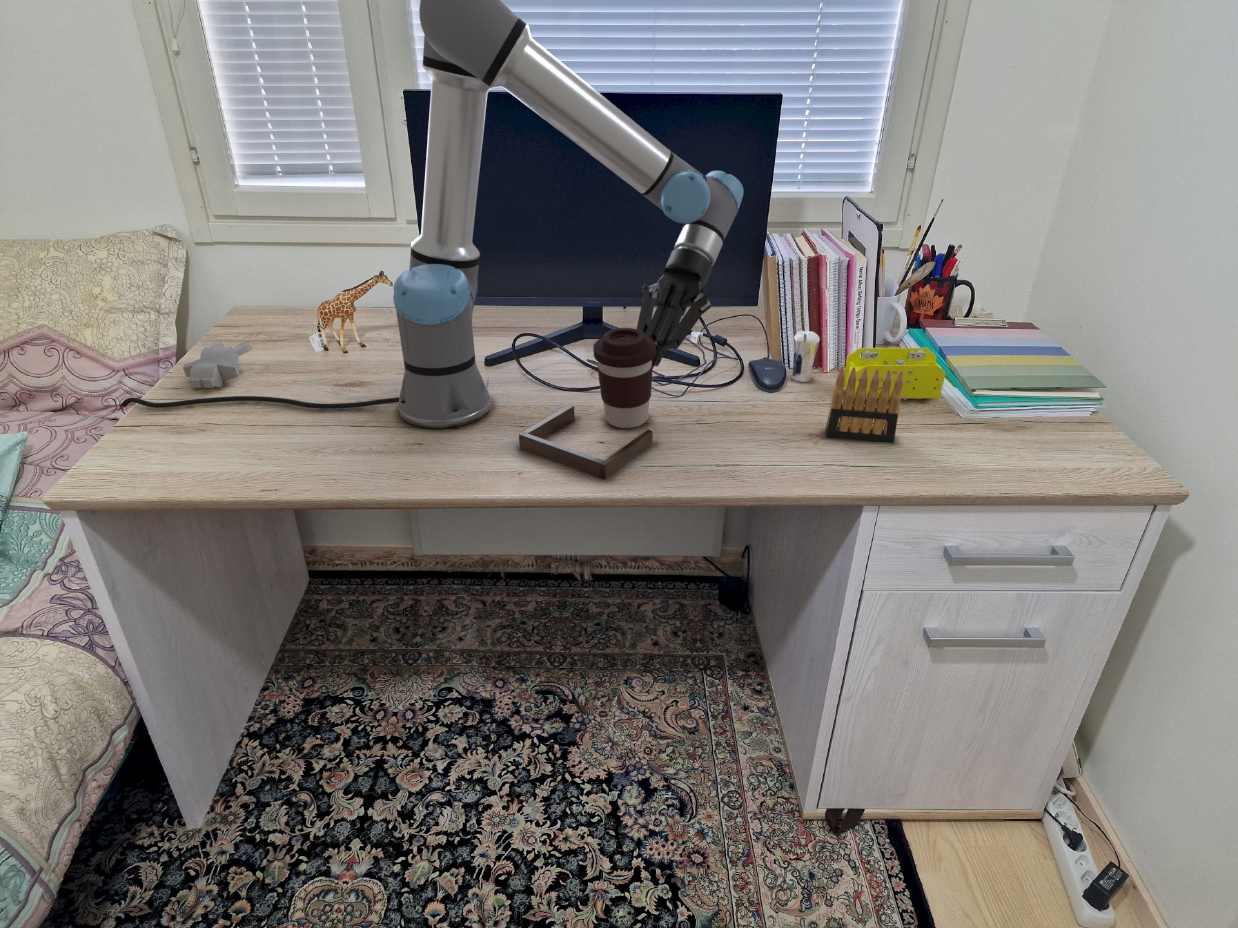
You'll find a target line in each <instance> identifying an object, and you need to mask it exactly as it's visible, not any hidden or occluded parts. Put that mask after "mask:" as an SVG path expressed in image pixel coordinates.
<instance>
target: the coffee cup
mask: <svg viewBox="0 0 1238 928" xmlns="http://www.w3.org/2000/svg"><path fill="white" fill-rule="evenodd" d="M656 345H657V343H655V342H654V341H653V340H652V339H651V338H649V337H647V336H646V335H645V334H644V333H643V332H642V331H640V330H637V328H633V327H632V328H631V327H619V328H614V329H610V330H608V331H607V332H605V333H604V334H603V336H602V337H600V338H599V339H597V340H596V341H595V342H594V344H593V347H592V349H593V358H594V360H595V361H596V362H597V363H598V364H597V375H598V382H599V390H600V397H601V400H602V402H603V403H602V405H603V411H604V418H605V420H606V422H607V423H608V424H609V425H611V426H613V427H615V428H619V429H633V428H637V427H639V426H641V425H643V424H645V423H646V422H647V420H648V419H649V415H650V414H649V413H650V399H651V396H652V384H653V370H654V367H653V364H652V359H653V358H654V357H655V354H656Z"/></svg>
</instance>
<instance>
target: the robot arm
mask: <svg viewBox="0 0 1238 928" xmlns="http://www.w3.org/2000/svg"><path fill="white" fill-rule="evenodd" d="M419 1H420V2H419V7H418V8H419V9H418V10H419V11H418V13H419V22H420V27H421V30H422V32H423V34H424V35H423V37H424V38H423V52H422V68H423V70H424V72H425V73H426V74H427V76H428V78H429V79H430V81H431V88H430V100H429V101H430V102H429V115H428V116H429V117H428V129H427V145H426V156H425V158H426V160H425V173H424V187H423V201H422V202H423V203H422V215H421V230H420V235H419V236H418V237H416V238H415V239H413V241H411V243H410V253H409V254H410V255H409V270H408V269H407V270H403V271H402V272H400V274H398V276H397V277H396V278H395V280H394V282H393V297H392V298H393V299H392V301H393V304H394V308H395V311H396V312H395V313H396V319H397V324H398V331H399V338H400V339H399V340H400V345H401V351H402V360H403V366H404V373H403V379H402V383H401V387H400V388H401V389H400V393H399V396H397V397H389V398H388V397H387V398H380V399H372V400H365V401H358V402H357V401H356V402H342V403H341V402H340V403H322V402H321V403H319V402H308V401H301V400H297V399H291V398H285V397H284V398H283V397H275V396H262V395H261V396H260V395H259V396H258V395H234V396H233V395H231V396H230V395H229V396H216V397H205V398H203V397H202V398H194V399H193V398H192V399H185V400H177V401H167V402H152V401H148V400H144V399H142V398H137V397H128V398H125V399H124V400H122V402H121V404H120V406H119V407H123V408H124V407H127V406H128V405H129V404H131V403H132V404H138V405H141V406H144V407H147V408H148V407H149V408H153V409H163V408H164V409H166V408H175V407H176V408H177V407H183V406H184V407H185V406H190V405H192V406H193V405H200V404H201V405H203V404H212V403H213V404H214V403H226V402H263V403H264V402H265V403H275V404H276V403H277V404H285V405H292V406H297V407H302V408H310V409H320V410H321V409H322V410H323V409H325V410H327V409H328V410H329V409H332V410H334V409H353V408H365V407H372V406H379V405H388V404H395V403H396V404H397V403H398V409H399V415H400V417H401V418H402V419H403V420H404V421H405V422H406V423H407V424H410V425H413V426H415V427H420V428H426V429H449V428H456V427H460V426H465V425H468V424H471V423H473V422H476V421H478V420H479V419H481V418H483V417H484V416H485V415H486V414H487V413H488V412H489V410H490V409H491V397H490V392H489V390H488V387H489V385H490V376H489V375H488V377H487V379H486V381H484V379H483V377H482V375H481V373H480V370H479V368H478V366H477V363H476V350H475V341H474V340H475V339H474V331H473V329H474V328H473V315H474V308H475V302H476V299H477V296H478V288H479V287H478V286H479V284H478V277H479V266H480V256H481V254H480V251H479V249H478V248H477V247H476V246H475V244H474V242H473V238H474V227H475V219H476V218H475V217H476V209H477V199H478V198H477V197H478V189H479V178H480V168H481V160H482V150H483V142H484V141H483V140H484V131H485V123H486V121H485V120H486V111H487V110H486V109H487V100H488V94H489V91H490V90H492V89H496V88H502V89H504V90H505V91H507V92H508V93H509V94H511V95H512V96H513V97H515V99H517V100H518V101H520V102H521V103H522V104H523V105H525V106H526V107H527V108H529V109H530V110H532V112H534V113H535V114H537V115H538V116H539V117H540V118H541V119H543V120H545V121H546V122H547V123H548V124H549V125H551V126H552V127H554V128H555V129H556V130H557V131H558V132H560V133H561V134H563V135H564V136H565V137H566V138H568V139H569V140H571V141H572V142H573V143H574V144H575V145H577V146H579V148H581V149H582V150H584V151H585V152H586V153H587V154H589V155H590V156H591V157H593V158H594V159H596V161H598V162H600V163H601V164H602V165H603V166H605V168H607V169H609V170H610V171H612V172H613V173H614V174H615V175H616V176H617V177H619V178H620V179H622V180H623V181H624V182H625V183H627V184H628V185H630V186H631V188H633V189H635V191H637V192H639V194H641V195H642V196H643V197H644V198H646V199H647V200H648V201H649V202H651V203H652V204H653V205H655V206H656V207H657V208H659V209H660V210H661V211H662V212H663V214H664V215H665V216H666V217H667V218H668V219H670V220H672V221H674V222H675V223H678V224H683V225H682V229H681V230H680V233H679V235H678V238H677V240H676V242H675V244H674V246H673V250H672V251H671V253H670V256H669V258H668V260H667V262H666V264H665V267H664V271H663V274H662V276H660V277H659V279H658V280H657V282H656V283H654V284H651V285H649V284H647V283H644V284H643V285H642V286H641V290H642V296H643V297H642V300H641V305H640V309H639V310H640V311H639V315H638V320H637V325H636V329H637V330H640V331H642V332H643V333H644V334H645V335H646V336H647V337H649V338H651V339H652V340H653V341H654V342H655V344H656V354H655V357H654V358H653V359H652V364H653V368H655V367H658V366H659V365H660V364H661V361H662V359H663V357H664V355H665V352H666V351H667V350H669V349H673V350H678V349H679V348H680V346H681V345H682V343H683V342H684V341H685V339H686V338H687V336H688V335H689V333H690V332H691V331H692V329H693V328H694V327H695V325H696V324H697V323H698V321H699V319H700V318H701V317H702V316H703V314H705V313H706V312H707V311H709V310H710V309H711V308H712V303H711V302H710V300H709V299H708V297H707V296H706V295H704V287H705V285H706V284H707V282H708V280H709V277H710V275H711V272H712V270H713V266H714V265H715V263H716V262H717V259H718V256H719V254H720V251H721V249H722V248H723V245H724V242H725V239H726V237H727V235H728V233H729V231H730V229H731V227H732V225H733V223H734V220H735V218H736V216H737V215H738V213H739V208H740V206H741V203H742V200H743V197H744V187H743V184H742V182H741V181H740V180H739V179H738V178H737V177H735V176H734V175H733V174H731V173H726V172H725V171H722V170H712V171H709V172H708V173H707V174H704V173H701V172H700V171H698V170H697V169H696V168H695V167H693V166H691V165H690V164H689V163H688V162H687V161H685V160H683V159H682V158H681V157H679V156H678V155H677V154H675V153H674V152H672V151H671V150H670V148H668V147H666V146H665V145H663V143H661V142H660V141H659V140H658V139H656V138H655V137H654V136H653V135H651V133H649V132H648V131H647V130H645V129H644V128H643V127H641V126H640V125H639V124H638V123H636V122H635V120H633V119H632V118H631V117H629V116H628V115H627V114H626V113H624V112H623V111H622V110H621V109H620V108H618V107H617V106H616V105H614V104H613V103H612V102H611V101H610V100H608V99H607V98H606V97H605V96H603V94H601V93H599V92H598V91H597V90H596V89H595V88H594V87H592V86H591V85H590V84H589V83H588V82H587V81H585V80H584V79H583V78H582V77H580V76H579V75H578V74H576V73H575V72H574V71H573V70H572V69H570V68H569V67H568V66H567V65H566V64H564V63H563V62H562V61H561V60H559V59H558V58H557V57H555V56H554V55H553V54H552V53H551V52H550V51H549V50H547V49H545V47H544V46H543V45H541V44H540V43H539V42H537V41H536V40H535V39H534V38H533V36H532V35H531V31H530V26H529V24H528V23H527V22H525V21H524V20H522V19H521V18H520V17H519V16H518V15H517V14H516V13H515V12H513V11H512V10H511V8H509V6H507V4H506V3H505V2H504V1H503V0H419ZM658 294H659V298H658V300H657V306H656V308H655V303H656V302H655V301H656V300H655V299H657V297H658ZM689 306H690V307H689ZM688 307H689V308H688ZM654 308H655V311H654ZM687 309H688V310H687Z"/></svg>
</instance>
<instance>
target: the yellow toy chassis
mask: <svg viewBox="0 0 1238 928" xmlns="http://www.w3.org/2000/svg"><path fill="white" fill-rule="evenodd" d="M937 357H938V356H937V354H935V353H934V352H933V351H932V350H931V349H930V348H929V347H858V348H857V349H855V350H854V351H852V352H851V353H849V354H848V355H847V356H846V361H845V367H844V372H845V378H844V391H845V390H846V387H847V383H848V379H849V375H850V373H851V371H852V369H853V368H855V369H856V383H855V395H856V392H857V389H858V385H859V381H860V378H861V375H862V373H863V371H864V369H865V368H866V369H867V372H868V380H867V388H866V398H867V394H868V391H869V388H870V385H871V380H872V377H873V375H874V373H875V371H876V370H877V369H878V370H879V385H878V397H879V394H880V392H881V388H882V385H883V381H884V378H885V375H886V373H887V372H888V371H889V370H890V371H891V385H890V397H891V394H892V392H893V388H894V385H895V381H896V379H897V376H898V374H899V373H900V371H902V372H903V386H902V393H901V399H903V400H904V401H906V400H908V399H911V400H912V399H913V400H923V399H940V398H941V395H942V389H943V386H944V381H945V377H946V371H945V370H944V369H943V368H942V367H941V365H940V364H938V362H936V361H937ZM878 397H877V399H878ZM890 397H889V401H890ZM854 400H855V396H854ZM865 401H866V399H865Z"/></svg>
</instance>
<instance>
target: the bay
mask: <svg viewBox="0 0 1238 928" xmlns="http://www.w3.org/2000/svg"><path fill="white" fill-rule="evenodd" d="M575 414H576V413H575V405H573V404H568V405H566V406H564V407H563V408H561V409H559V410H558V411H556V412H554V413H553V414H550V415H549V416H548V417H546V418H544V419H542V420H541V421H539V422H537V423H536V424H534V425H532V426H530V427H529V428H526V429H525V430H523V431H522V432H520V433H518V443H519V449H520V450H523V451H526V452H528V453H532V454H534V455H538V456H540V457H543V458H544V459H545V458H546V459H548V460H551V461H553V462H556V463H559V464H561V465H564V466H567V467H570V468H572V469H575V470H577V471H581V472H583V473H585V474H589V475H591V476H594V477H596V478H600V479H601V480H608V478H610V477H611V476H612V475H614V474H615V473H616V472H618V471H619V470H620V469H622V468H623V467H625V466H626V465H627V464H628V463H630V462H631V461H633V460H634V459H635V458H636V457H638V456H639V455H641V454H642V453H644V452H645V451H647V450H648V449H649V448H650V447H651V446H653V445H654V444H653V441H654V430H651V429H646V430H645V431H643V432H642V433H640V434H639V435H637V436H636V437H635V438H634V439H632V440H630V441H629V442H628V443H627V444H625V445H624V446H622V447H621V448H619V449H618V450H617V451H615V452H614V453H613V454H611V455H610V456H608V457H607V458H606V459H600V458H598V457H595V456H592V455H589V454H587V453H584V452H581V451H578V450H575V449H572V448H570V447H568V446H564V445H561V444H558V443H556V442H554V441H553V442H552V441H550V440H548V439H544V438H546V437H549V436H550V435H552V434H554V433H555V432H556V431H557V430H559V429H561V428H562V427H565V426H566V425H567V424H569V423H571V422H572V421H574V420H576V419H575V417H576V416H575Z"/></svg>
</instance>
